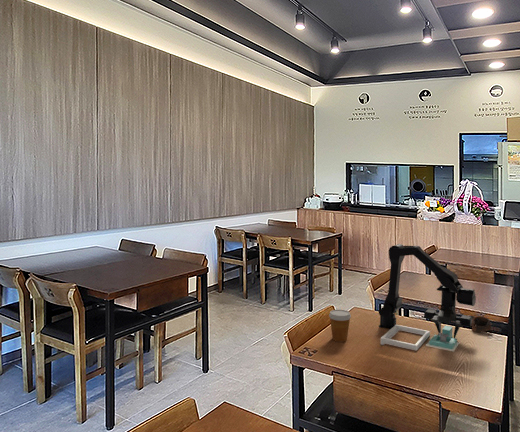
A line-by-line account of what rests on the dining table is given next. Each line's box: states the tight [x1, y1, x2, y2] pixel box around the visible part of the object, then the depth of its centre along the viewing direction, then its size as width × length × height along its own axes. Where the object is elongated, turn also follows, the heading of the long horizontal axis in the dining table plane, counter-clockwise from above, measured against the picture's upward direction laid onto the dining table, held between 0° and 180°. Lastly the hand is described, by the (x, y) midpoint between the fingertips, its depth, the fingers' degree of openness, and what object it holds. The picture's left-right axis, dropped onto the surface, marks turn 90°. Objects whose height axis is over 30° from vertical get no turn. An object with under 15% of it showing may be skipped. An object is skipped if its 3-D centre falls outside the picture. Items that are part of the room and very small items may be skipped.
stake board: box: [425, 332, 460, 353], centre depth 183 cm, size 11×11×5 cm
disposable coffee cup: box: [328, 309, 352, 343], centre depth 192 cm, size 10×10×12 cm
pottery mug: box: [469, 315, 493, 333], centre depth 201 cm, size 12×10×8 cm
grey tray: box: [380, 324, 431, 352], centre depth 189 cm, size 15×20×3 cm
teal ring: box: [428, 325, 458, 349], centre depth 186 cm, size 9×14×4 cm, turn 145°
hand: (447, 336), depth 190 cm, fingers open, 6 cm apart
